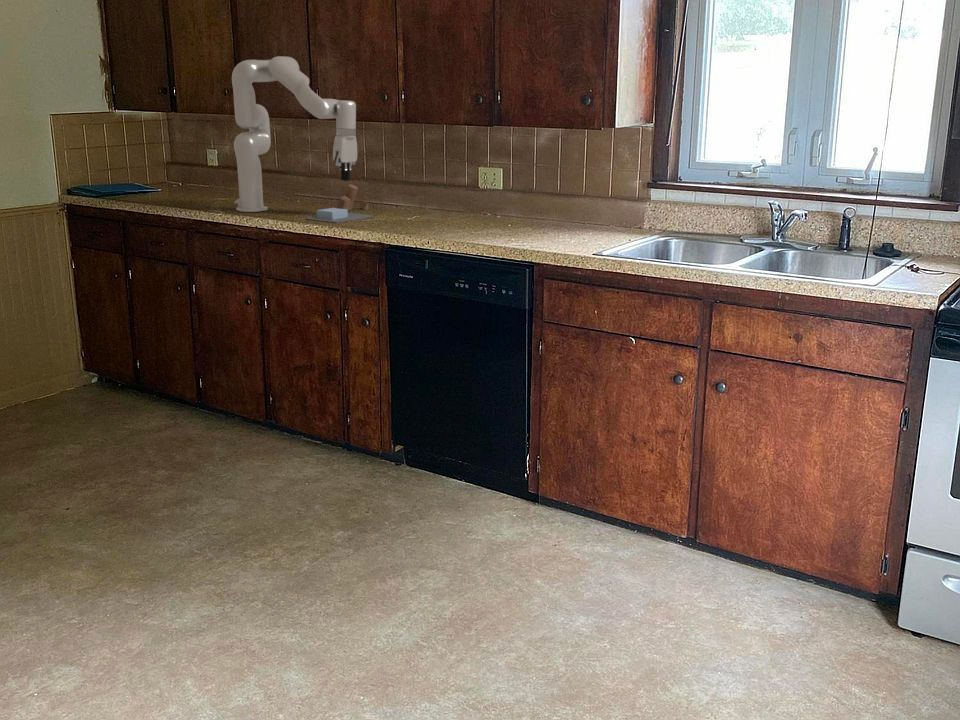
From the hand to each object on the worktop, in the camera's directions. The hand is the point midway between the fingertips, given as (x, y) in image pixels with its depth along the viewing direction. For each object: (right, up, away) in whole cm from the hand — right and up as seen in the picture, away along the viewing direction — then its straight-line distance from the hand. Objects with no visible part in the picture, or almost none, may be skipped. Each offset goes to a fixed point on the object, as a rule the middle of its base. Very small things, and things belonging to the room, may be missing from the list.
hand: (345, 180), depth 378 cm
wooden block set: (-1, -10, +19) cm, 21 cm away
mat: (-2, -15, -2) cm, 16 cm away
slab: (-2, -13, -1) cm, 13 cm away
